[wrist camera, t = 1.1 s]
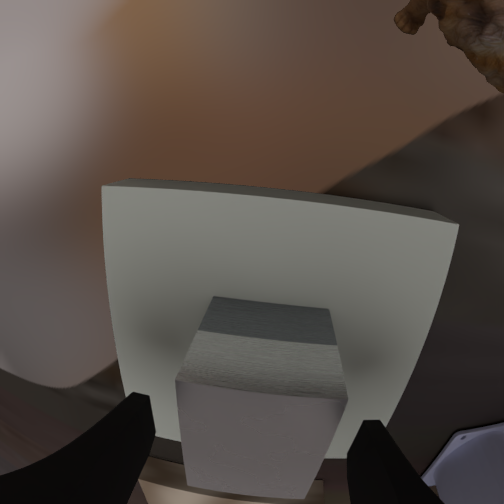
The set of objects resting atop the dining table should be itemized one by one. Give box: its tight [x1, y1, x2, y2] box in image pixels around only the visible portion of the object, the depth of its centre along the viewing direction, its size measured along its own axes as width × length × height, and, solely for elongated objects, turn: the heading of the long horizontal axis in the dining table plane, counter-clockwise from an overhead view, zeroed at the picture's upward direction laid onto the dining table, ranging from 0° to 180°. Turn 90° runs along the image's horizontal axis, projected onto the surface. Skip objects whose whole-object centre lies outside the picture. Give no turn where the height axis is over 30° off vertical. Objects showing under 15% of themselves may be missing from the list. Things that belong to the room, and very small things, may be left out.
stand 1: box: [102, 178, 459, 458], centre depth 14 cm, size 14×14×2 cm
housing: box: [175, 296, 349, 499], centre depth 11 cm, size 4×6×5 cm
